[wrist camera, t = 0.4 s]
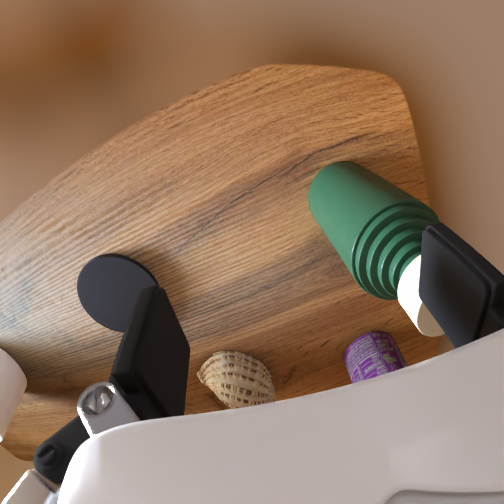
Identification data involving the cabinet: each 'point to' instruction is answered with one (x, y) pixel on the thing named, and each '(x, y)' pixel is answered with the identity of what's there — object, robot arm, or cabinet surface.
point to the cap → (416, 301)
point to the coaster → (112, 289)
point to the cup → (9, 389)
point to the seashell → (237, 379)
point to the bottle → (369, 224)
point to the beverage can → (373, 356)
